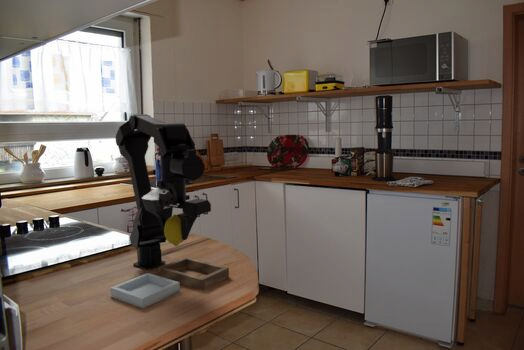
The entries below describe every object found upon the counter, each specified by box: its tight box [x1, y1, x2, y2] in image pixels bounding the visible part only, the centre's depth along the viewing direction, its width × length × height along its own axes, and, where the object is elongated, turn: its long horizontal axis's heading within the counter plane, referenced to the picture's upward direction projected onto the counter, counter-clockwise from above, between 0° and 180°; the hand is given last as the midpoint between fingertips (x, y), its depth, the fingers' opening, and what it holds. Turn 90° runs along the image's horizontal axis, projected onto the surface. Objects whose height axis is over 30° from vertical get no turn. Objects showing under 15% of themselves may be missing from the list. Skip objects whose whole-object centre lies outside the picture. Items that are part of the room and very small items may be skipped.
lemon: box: [164, 214, 185, 247], centre depth 107 cm, size 6×6×8 cm
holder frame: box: [157, 256, 230, 291], centre depth 113 cm, size 15×10×2 cm, turn 55°
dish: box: [109, 272, 181, 309], centre depth 102 cm, size 11×11×2 cm
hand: (175, 238), depth 107 cm, fingers closed on lemon, 5 cm apart
